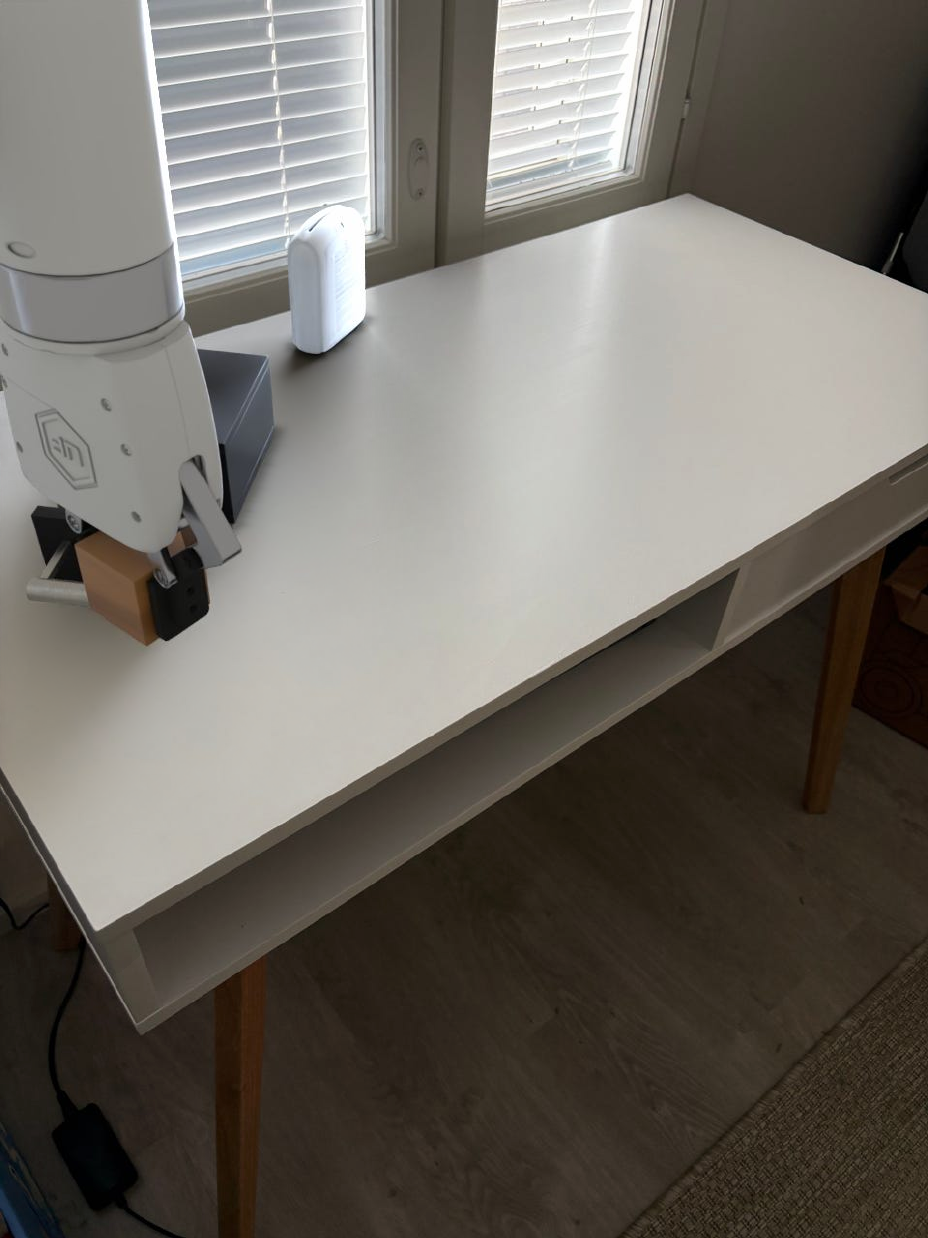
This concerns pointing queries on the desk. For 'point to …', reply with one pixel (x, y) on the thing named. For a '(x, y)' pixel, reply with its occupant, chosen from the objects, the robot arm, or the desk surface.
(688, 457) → the desk surface
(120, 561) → the tan wooden cube
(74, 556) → the drawer with bar handle
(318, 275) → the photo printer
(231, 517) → the black drawer unit
